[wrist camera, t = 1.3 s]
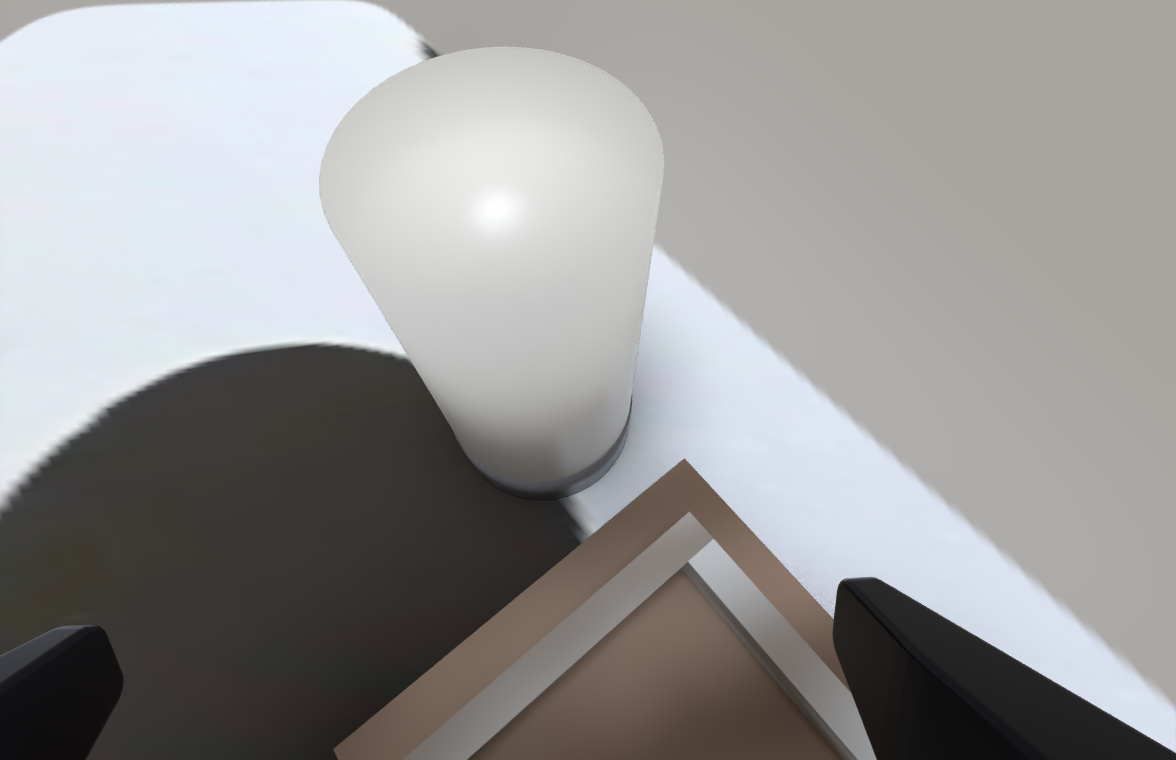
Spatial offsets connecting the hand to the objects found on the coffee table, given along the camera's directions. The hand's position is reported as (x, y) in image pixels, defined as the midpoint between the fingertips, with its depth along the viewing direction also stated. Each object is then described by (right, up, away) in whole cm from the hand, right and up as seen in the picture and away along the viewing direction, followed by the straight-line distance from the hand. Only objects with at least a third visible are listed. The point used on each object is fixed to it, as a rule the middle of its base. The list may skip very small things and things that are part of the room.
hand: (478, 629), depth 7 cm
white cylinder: (0, +2, +14) cm, 14 cm away
